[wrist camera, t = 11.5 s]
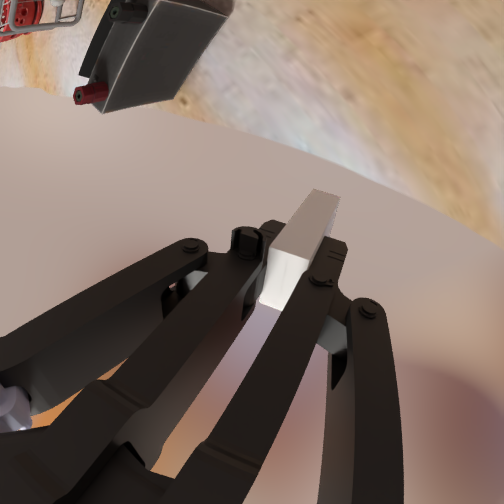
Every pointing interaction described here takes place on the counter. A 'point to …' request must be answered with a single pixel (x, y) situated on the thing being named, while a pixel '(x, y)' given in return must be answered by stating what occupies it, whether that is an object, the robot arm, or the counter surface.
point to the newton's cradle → (55, 1)
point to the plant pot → (21, 16)
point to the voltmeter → (144, 51)
